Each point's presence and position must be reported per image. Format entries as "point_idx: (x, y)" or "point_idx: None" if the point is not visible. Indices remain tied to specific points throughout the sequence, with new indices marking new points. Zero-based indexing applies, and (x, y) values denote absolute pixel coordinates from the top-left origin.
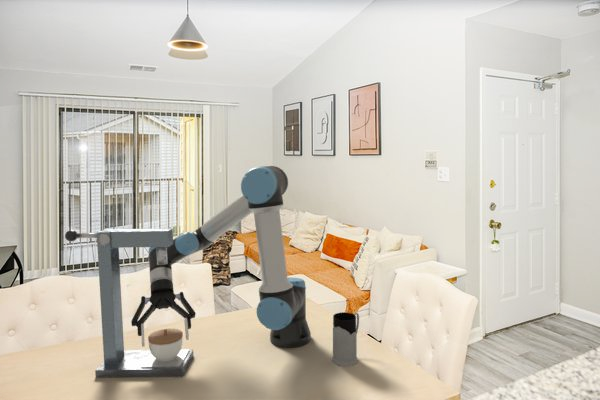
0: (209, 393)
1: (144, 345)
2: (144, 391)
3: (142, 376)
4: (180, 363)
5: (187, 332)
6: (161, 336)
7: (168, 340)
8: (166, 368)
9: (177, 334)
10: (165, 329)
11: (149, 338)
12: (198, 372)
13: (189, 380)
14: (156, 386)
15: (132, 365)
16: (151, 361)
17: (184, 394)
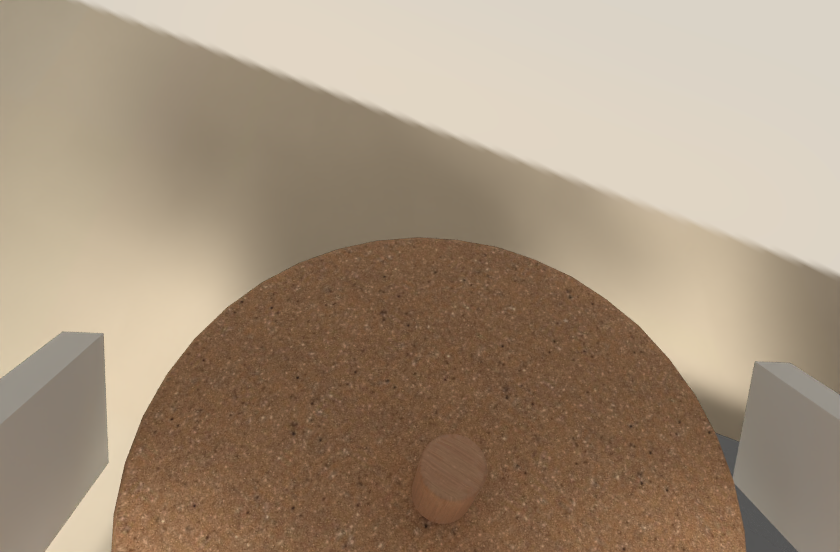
0: (169, 43)
1: (738, 452)
2: (578, 213)
3: None
4: None
5: (50, 354)
6: (513, 414)
7: (407, 240)
8: None
9: (235, 394)
10: (450, 484)
11: (708, 431)
12: (138, 322)
13: (247, 229)
14: (498, 243)
15: (771, 546)
16: None
17: (320, 88)
